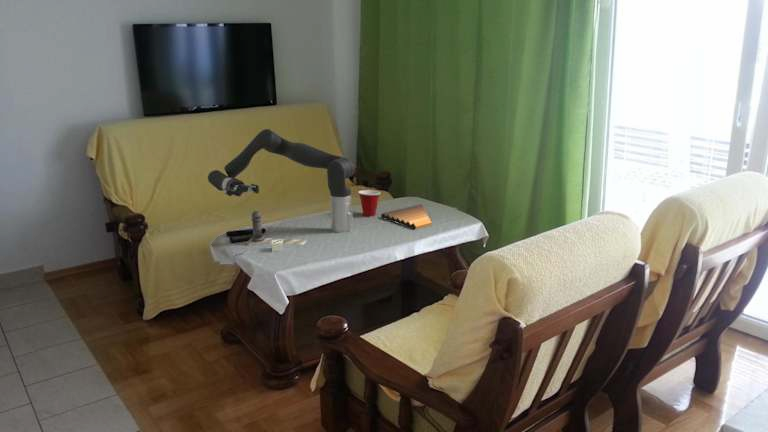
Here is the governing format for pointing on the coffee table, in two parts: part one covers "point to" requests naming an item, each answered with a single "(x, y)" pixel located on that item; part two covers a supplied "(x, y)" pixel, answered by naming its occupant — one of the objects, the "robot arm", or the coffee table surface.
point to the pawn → (257, 227)
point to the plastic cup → (369, 201)
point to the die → (277, 245)
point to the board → (286, 241)
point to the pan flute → (409, 216)
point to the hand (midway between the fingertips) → (249, 192)
